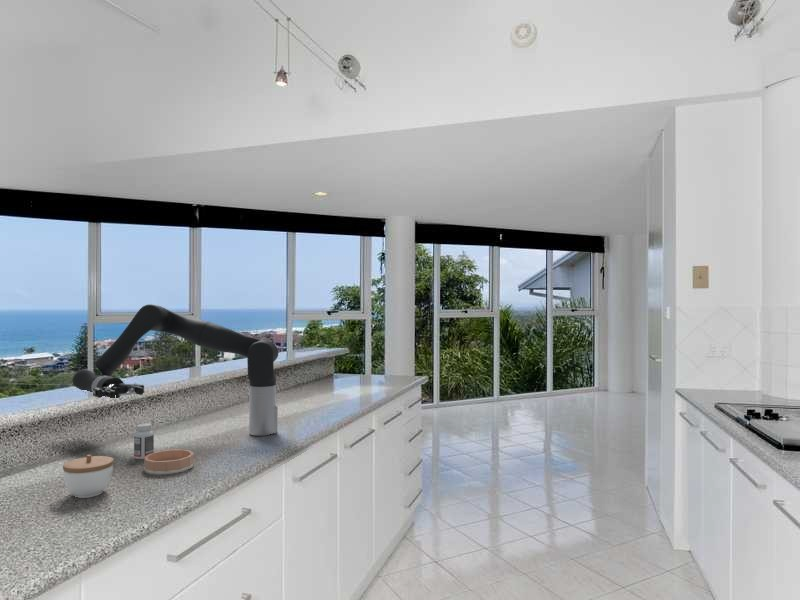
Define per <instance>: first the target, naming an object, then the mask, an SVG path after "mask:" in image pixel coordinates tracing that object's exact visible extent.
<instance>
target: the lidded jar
mask: <svg viewBox="0 0 800 600" xmlns="http://www.w3.org/2000/svg"><path fill="white" fill-rule="evenodd" d="M114 463H115V460H114V458H113V457H111V456H105V455H95V456H94V455H93V456H92V454H86V456H85V457H79V458H76V459H73V460H69V461H67V462H65V463H64V464H63V465H62V469H63V479H64V485H65V488H66V490H67V491H68V492H69V493H70V494H72V495H73V497H74V496H75V497H74V498H76V497H78V498H77V499H87V498H93V497H97V496H99V495H102V494H103V493H104V491H105V490H106V489H107V487H108V486H109V485H110V483H111V482H112V479H113V473H114Z"/></svg>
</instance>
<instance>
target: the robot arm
mask: <svg viewBox="0 0 800 600" xmlns="http://www.w3.org/2000/svg"><path fill="white" fill-rule="evenodd" d="M150 331H154V332H162V333H167V334H171V335H174V336H178V337H179V338H182V339H184V340H186V341H187V342H190V343H192V344H194V345H197V346H199V347H201V348H204V349H208V350H211V351H215V352H220V353H221V352H222V353H228V354H229V353H230V354H236V355H240V356H243V357H245V358H247V362H246V363H247V378H248V381H249V385H248V386H249V388H248V389H249V395H248V398H249V399H248V401H249V403H248V404H249V405H248V406H249V407H248V408H249V411H248V413H249V414H248V417H249V418H248V429H249V430H248V431H249V432H248V434H249V435H251V436H255V437H256V436H257V437H258V436H259V437H260V436H261V437H262V436H270V434H271V435H273V433H274V434H278V411H279V410H278V405H277V401H276V400H277V397H276V396H277V392H276V391H277V389H276V388H277V387H276V386H277V378H276V376H275V372H274V371H275V370H274V366H275V365H274V362H276V360H277V359H278V356H279V348H278V347H277V345H276V344H275V343H274V342H272V340H271V341H270V340H268V339H262V338H257V337H254V336H253V337H252V336H248V335H244V334H243V333H240V332H238V331H235V330H233V329H230V328H228V327H224V326H222V325H219V324H216V323H213V322H211V321H206V320H203V319H198V318H192V317H187V316H184V315H181V314H178V313H176V312H174V311H172V310H169V309H167V308H165V307H163V306H161V305H156V304H154V303H153V304H152V303H151V304H145V305H143V306H142V307H141V308H139V310H138V311H137V312H136V314H135V315H134V316H133V318H132V319H131V321H130V322H129V324H128V325H127V326H126V327H125V329H124V330H123V331H122V332H121V334H120V335H119V336H118V337H117V338H116V340H115V341H114V342H113V343H112V344H111V345H110V346H109V347H108V348H107V350H105V351H104V352H103V353H102V354H101V355H100V356H99V357H98V358H97V359H96V361H95V362H94V363H95V364H94V365H95V367H96V369H97V370H98V371H100V372H101V374H99V373H97V372H95V371H93V370H90V369H88V368H83V369H80V370H78V371H77V372H75V374H74V375H73V377H72V385H73V386H74V387H75V388H77V389H79V390H80V391H82V390H87V391H90V392H93V397H95V398H99V399H102V398H101V397H102V396H105V397H110V398H115V395H116V398H118V399H119V398H121V397H123V396H131V395H133V394H136V395H140V396H141V395H142V396H143V394H145V385H144V384H141V383H140V384H139V383H135V382H134V383H125V382H124V381H123V379H121V378H118V377H117V376H116V377H115V376H112V375H113V374H114V373H115V372H116V370H117V369H119V368H120V367H121V365H122V364H123V363H124V362H125V361H126V360H127V358H128V357H129V356H130V355H131V353H132V350H133V349H134V347H135V346H136V344H137V343H138V342H139V341H140V340H141V338H143V336H145V335H146V334H147V333H149V332H150Z"/></svg>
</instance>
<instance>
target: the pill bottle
mask: <svg viewBox="0 0 800 600" xmlns="http://www.w3.org/2000/svg"><path fill="white" fill-rule="evenodd" d="M154 436H155V434H154V431H153V430H152V424H151V423H147V422H146V423H140V424H137V425H136V432H135V433H134V434H133V458H134V459H135V460H136V459H137V460H144V457H145V456H147V455H148V454H151V453H154V452H155V451H154V450H155V448H154V447H155V446H154V445H155V440H154V438H155V437H154Z"/></svg>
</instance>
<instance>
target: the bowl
mask: <svg viewBox="0 0 800 600" xmlns="http://www.w3.org/2000/svg"><path fill="white" fill-rule="evenodd" d="M143 462H144V463H143V467H144V472H145V473H146V474H148V475H152V476H153V475H155V476H156V475H157V476H160V475H162V476H163V475H166V476H167V475H174V473H175V474H179V472H180V473H183V472H187V471H188V469H189V470H190V468H191V469H192V468H193V467H194V463H195V453H194V452H193V451H192V450H189V449H188V450H187V449H184V448H183V449H175V448H174V449H166V450H158V451H154V453H151V454H148V455H147V456H145V457H144V459H143Z"/></svg>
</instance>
